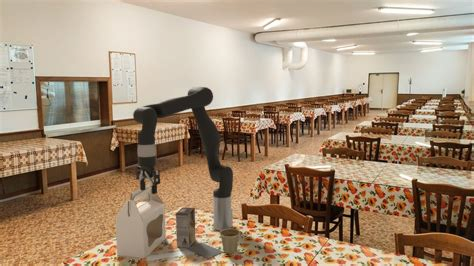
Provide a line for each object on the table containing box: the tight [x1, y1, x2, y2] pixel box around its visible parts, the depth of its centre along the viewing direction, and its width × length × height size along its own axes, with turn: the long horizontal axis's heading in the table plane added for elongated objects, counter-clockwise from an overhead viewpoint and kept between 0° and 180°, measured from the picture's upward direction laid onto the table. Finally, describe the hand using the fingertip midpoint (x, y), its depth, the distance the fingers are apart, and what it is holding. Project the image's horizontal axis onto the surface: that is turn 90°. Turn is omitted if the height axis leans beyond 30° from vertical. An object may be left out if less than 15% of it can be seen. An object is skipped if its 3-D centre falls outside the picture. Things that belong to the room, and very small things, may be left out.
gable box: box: [115, 183, 167, 259], centre depth 169 cm, size 22×13×28 cm, turn 166°
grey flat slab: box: [186, 241, 224, 260], centre depth 166 cm, size 9×14×1 cm, turn 47°
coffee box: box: [175, 207, 197, 248], centre depth 173 cm, size 9×6×16 cm
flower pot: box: [219, 228, 241, 255], centre depth 165 cm, size 9×9×9 cm
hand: (148, 191), depth 157 cm, fingers open, 8 cm apart
